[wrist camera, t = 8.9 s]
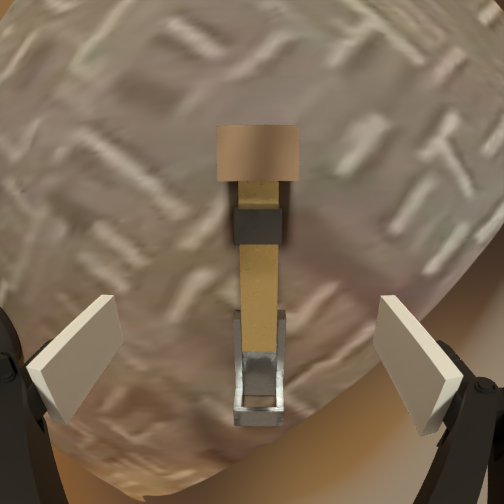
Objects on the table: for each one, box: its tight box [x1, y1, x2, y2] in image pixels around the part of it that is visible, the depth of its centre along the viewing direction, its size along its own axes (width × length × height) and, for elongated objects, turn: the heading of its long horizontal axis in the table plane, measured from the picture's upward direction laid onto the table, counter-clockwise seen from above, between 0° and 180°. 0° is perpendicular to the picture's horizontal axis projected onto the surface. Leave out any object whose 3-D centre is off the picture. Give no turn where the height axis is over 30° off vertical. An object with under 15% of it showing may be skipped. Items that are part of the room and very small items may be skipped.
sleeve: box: [233, 310, 286, 426], centre depth 37 cm, size 6×14×7 cm, turn 1°
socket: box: [216, 125, 299, 181], centre depth 30 cm, size 7×5×8 cm
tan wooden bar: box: [233, 181, 282, 352], centre depth 31 cm, size 4×22×9 cm, turn 0°
